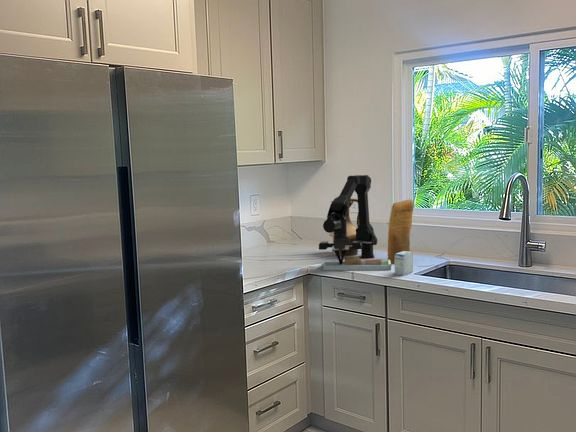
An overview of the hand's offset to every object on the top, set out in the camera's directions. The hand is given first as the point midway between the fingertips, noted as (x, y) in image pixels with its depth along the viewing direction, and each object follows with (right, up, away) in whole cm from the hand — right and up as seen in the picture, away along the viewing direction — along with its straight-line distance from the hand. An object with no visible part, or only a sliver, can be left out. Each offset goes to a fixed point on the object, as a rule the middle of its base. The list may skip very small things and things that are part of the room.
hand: (340, 264), depth 254 cm
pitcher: (+6, +2, +33) cm, 33 cm away
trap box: (+7, -1, +1) cm, 7 cm away
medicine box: (+25, -3, -15) cm, 29 cm away
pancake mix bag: (+28, 0, +10) cm, 30 cm away
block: (+5, -1, -1) cm, 5 cm away
